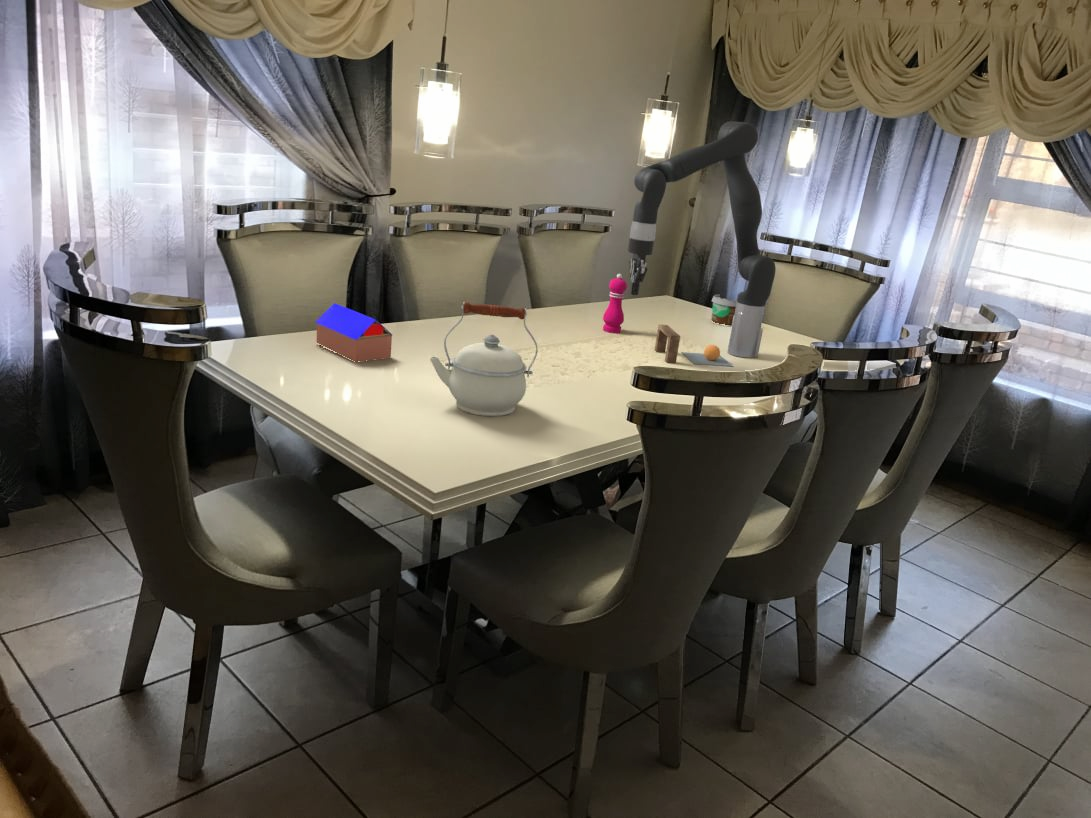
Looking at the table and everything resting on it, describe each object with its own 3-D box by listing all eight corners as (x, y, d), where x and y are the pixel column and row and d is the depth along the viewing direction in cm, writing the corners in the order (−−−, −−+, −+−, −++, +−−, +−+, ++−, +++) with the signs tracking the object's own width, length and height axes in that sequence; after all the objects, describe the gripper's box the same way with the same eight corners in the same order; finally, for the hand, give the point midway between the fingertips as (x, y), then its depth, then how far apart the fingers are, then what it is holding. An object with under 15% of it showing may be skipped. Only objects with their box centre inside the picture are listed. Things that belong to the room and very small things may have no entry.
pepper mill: (598, 330, 294) (605, 272, 287) (606, 327, 300) (614, 270, 293) (617, 334, 291) (625, 276, 284) (625, 331, 297) (633, 274, 290)
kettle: (530, 399, 213) (540, 301, 205) (531, 424, 196) (543, 318, 188) (430, 389, 212) (437, 291, 204) (422, 413, 194) (429, 307, 187)
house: (355, 364, 226) (356, 321, 222) (314, 345, 239) (315, 304, 235) (392, 359, 234) (394, 317, 231) (351, 341, 247) (352, 301, 243)
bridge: (663, 351, 276) (667, 325, 273) (675, 363, 263) (680, 336, 260) (654, 350, 275) (658, 324, 273) (666, 362, 262) (671, 335, 260)
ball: (718, 355, 274) (715, 341, 272) (723, 359, 269) (720, 344, 267) (704, 360, 274) (700, 346, 272) (709, 364, 269) (705, 350, 267)
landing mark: (719, 355, 279) (719, 354, 279) (733, 366, 267) (733, 366, 267) (681, 352, 277) (681, 352, 276) (693, 364, 264) (694, 363, 264)
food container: (701, 319, 332) (706, 293, 329) (714, 319, 334) (719, 294, 331) (720, 327, 321) (725, 301, 318) (733, 327, 324) (738, 301, 321)
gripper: (660, 242, 250) (651, 300, 255) (648, 235, 262) (640, 291, 268) (635, 239, 248) (627, 298, 254) (624, 233, 261) (617, 289, 266)
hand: (633, 294), depth 261 cm, fingers closed
